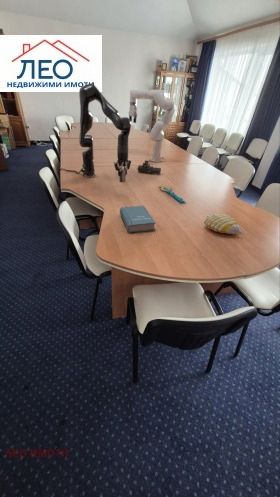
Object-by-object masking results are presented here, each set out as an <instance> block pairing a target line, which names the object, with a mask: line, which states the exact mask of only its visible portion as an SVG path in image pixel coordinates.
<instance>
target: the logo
mask: <svg viewBox="0 0 280 497" xmlns="http://www.w3.org/2000/svg"><path fill="white" fill-rule="evenodd" d="M158 187H159V188H160V190H161V191H162V192H166V193H167V194H168V195H170V196H171V197H172V198H173V199H175V200H176V201H178V202H179V203H180V204H186V201H185V200H184V199H183V198H182V197H179V196H178V195H177V194H175V192H173V191H172V190H171V189H172V187H168V186H167V185H165V186H163V185H159V186H158Z"/></svg>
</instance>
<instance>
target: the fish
mask: <svg viewBox="0 0 280 497" xmlns="http://www.w3.org/2000/svg"><path fill="white" fill-rule="evenodd" d="M203 223H204V225H205V226H206V227H207V228H208V229H210V230H212V231H214V232H217V233H222V234H227V235H237V234H239V235H244V234H245V233H244V232H243V231H242V229H241V227H240V225H239V224H238V222H237V219H236V218H235V217H232V216H230V215H229V214H228V213H216V214H210V215H207V216H206V218H205V219H204V220H203Z"/></svg>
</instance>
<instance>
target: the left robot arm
mask: <svg viewBox="0 0 280 497" xmlns="http://www.w3.org/2000/svg"><path fill="white" fill-rule="evenodd" d="M78 94H79V96H78V98H79V106H80V107H79V108H80V109H79V110H80V111H79V112H80V113H79V138H78V142H79V143H78V144H79V146H80V147H82V148H87V149H86V150H83V151H82V153H81V155H82V168H80V170H79V171H77V170H72V169H71V170H70V169H66V168H62V167H61V168H59V171H62V170H63V171H65V172H72V173H73V172H74V173H76V174H81V173H82V174H83V176H84V177H85V178H94V177H95V175H96V174H95V159H94V138H93V136H92V135H91V134H87V133H88V132H89V131H90V130H91V129H92V127H93V124H94V116H93V113H92V112H91V110H90V109H89V108H90V106H89V105H90V103H91V102H94V101H97V102H98V103H99V104H100V107H101V110H102V113H103V114H104V115H105V117H106V118H108V119H109V120H110V121H111V122H112V124H113V126H114V127H115V128H116V129H117V130H118V131H120V133H119V134H117V147H116V148H117V149H116V150H117V151H116V152H117V155H116V156H117V157H116V158H117V161H115V162H113V166H114V169H115V171H117V176H118V177H119V178H120V177H121V169H122V168H124V169H126V173H125V177H126V176H127V175H128V170H130V169H131V165H132V160H130V159H129V137H130V132H131V128H132V123H131V122H130V119H129V117H127V116H123V117H121V116H120V112H119V110H118V109H116V108H115V107H114V106H113V105H112V104H111V103H110V102H109V101H108V99H106V97H105V96H104V95H103V93H102V92H101V91H100V90H99V88H98V87H97V86H96V85H95V84H93V83H87V84H84V85H83V86H81V87H80V88H79V93H78Z"/></svg>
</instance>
